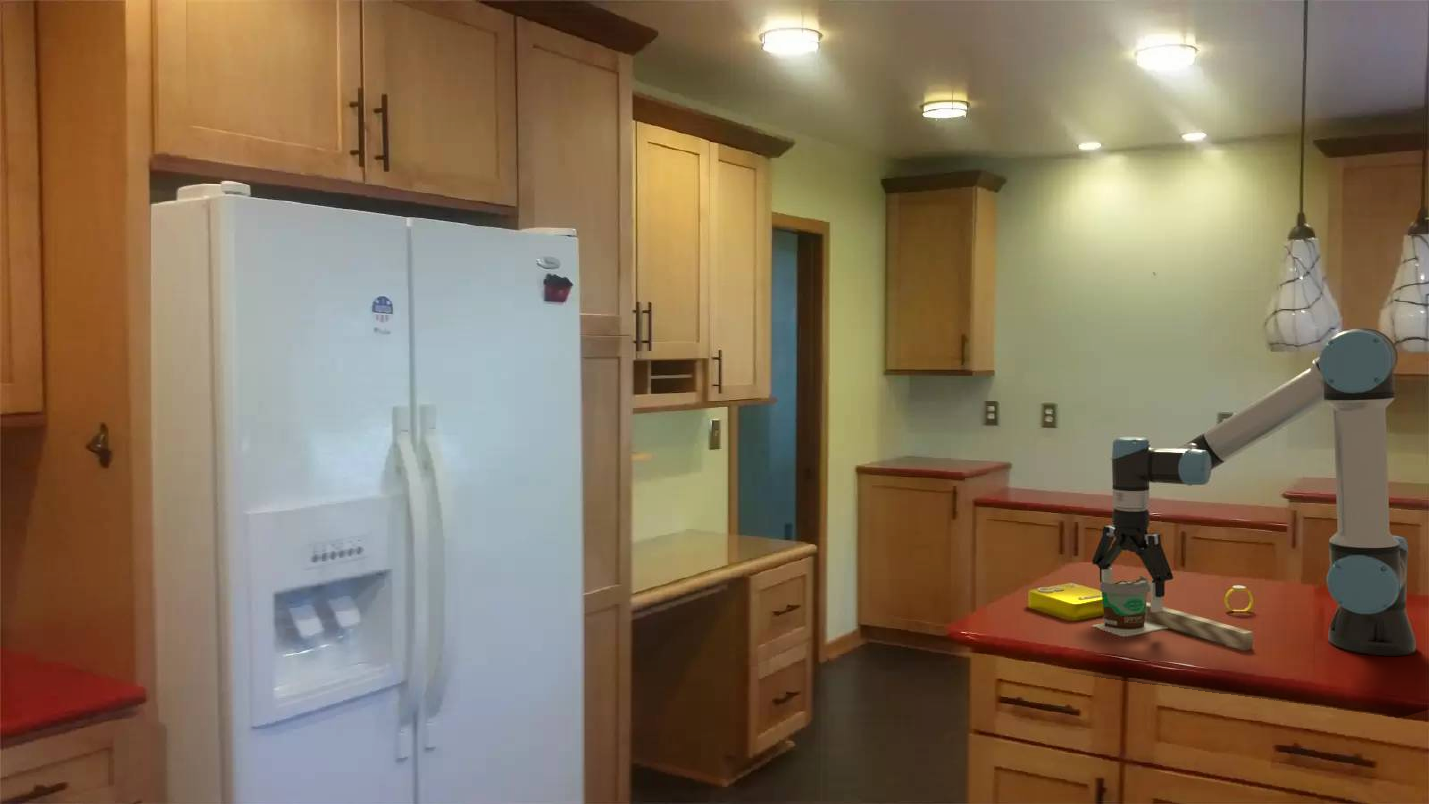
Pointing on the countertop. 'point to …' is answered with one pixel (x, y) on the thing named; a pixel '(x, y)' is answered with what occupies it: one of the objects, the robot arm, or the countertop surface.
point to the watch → (1239, 588)
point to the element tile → (1067, 601)
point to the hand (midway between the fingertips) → (1131, 604)
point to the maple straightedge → (1201, 627)
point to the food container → (1125, 603)
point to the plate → (1129, 632)
